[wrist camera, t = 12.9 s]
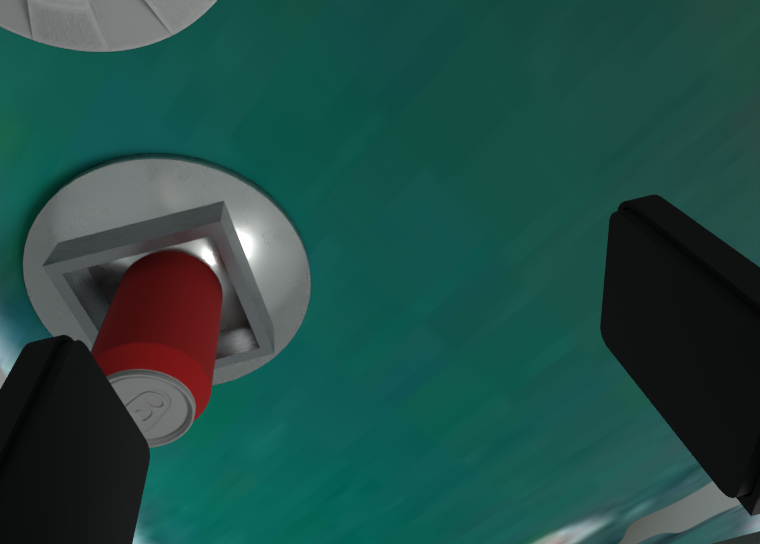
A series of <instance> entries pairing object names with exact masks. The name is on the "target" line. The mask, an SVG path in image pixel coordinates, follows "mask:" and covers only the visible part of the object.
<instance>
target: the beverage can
mask: <svg viewBox="0 0 760 544" xmlns="http://www.w3.org/2000/svg"><path fill="white" fill-rule="evenodd" d="M222 299H223V292H222V286H221V283H220V281H219V279H218V277H217V275H216V274H215V273H214V271H213V270H212V269H211V268H210V267H209V266H208V265H206V264H205V263H204V262H202V261H201V260H199V259H197V258H195V257H193V256H190V255H187V254H184V253H179V252H157V253H152V254H149V255H146V256H144V257H142V258H140V259H138V260H137V261H135V262H134V263H133V264H132V265H131V266H130V267H129V268H128V269H127V270H126V272H125V273H124V275H123V277H122V280H121V282H120V284H119V286H118V288H117V291H116V293H115V295H114V298H113V300H112V302H111V304H110V307H109V309H108V311H107V314H106V316H105V318H104V321H103V323H102V325H101V328H100V330H99V333H98V335H97V337H96V340H95V342H94V345H93V347H92V350H91V354H92V355H93V357H94V358H95V360H96V362H97V363H98V365H99V366H100V368H101V369H102V371H103V373H104V374H105V376H106V377H107V379H108V380H109V382H110V384H111V385H112V387H113V388H114V390H115V391H116V393H117V395H118V396H119V398H120V399H121V401H122V402H123V404H124V406H125V407H126V409H127V410H128V412H129V413H130V415H131V417H132V418H133V420H134V421H135V423H136V425H137V426H138V428H139V429H140V431H141V432H142V434H143V436H144V437H145V439H146V441H147V443H148V446H149V448H150V447H157V446H161V445H165V444H168V443H170V442H173V441H175V440H176V439H178V438H180V437H181V436H182V435H183V434H185V433H186V432H187V431H188V429H189V428H190V426H191V425H192V423H193V422H194V421H195V420H196V419H197V418H198V417H199V416H200V415H201V413H202V412H203V411H204V409H205V408H206V406H207V404H208V402H209V399H210V395H211V388H212V381H213V374H214V367H215V359H216V352H217V344H218V335H219V327H220V318H221V309H222Z"/></svg>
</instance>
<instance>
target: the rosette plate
mask: <svg viewBox="0 0 760 544" xmlns="http://www.w3.org/2000/svg"><path fill="white" fill-rule="evenodd" d="M157 252H179V253H184V254H187V255H190V256H193V257H195V258H197V259H199V260H201V261H202V262H204V263H205V264H206V265H208V266H209V267H210V268H211V269H212V270H213V271H214V273H215V274H216V275H217V277H218V279H219V281H220V283H221V286H222V292H223V299H222V309H221V318H220V327H219V335H218V344H217V352H216V359H215V367H214V374H213V381H212V385H216V384H221V383H225V382H228V381H231V380H234V379H237V378H239V377H242V376H244V375H246V374H249V373H251V372H253V371H254V370H256V369H258V368H260V367H261V366H263V365H265V364H266V363H267V362H269V361H270V360H271V359H273V358H274V357H275V356H276V355H277V354H278V353H279V352H281V351H282V350H283V349H284V348H285V347H286V346H287V344H288V343H289V342H290V341H291V339H292V338H293V337H294V335H295V334H296V332H297V330H298V329H299V327H300V325H301V323H302V321H303V318H304V316H305V313H306V311H307V307H308V302H309V298H310V286H311V282H310V270H309V261H308V257H307V253H306V248H305V245H304V243H303V240H302V238H301V235H300V233H299V231H298V229H297V228H296V226H295V224H294V223H293V221H292V219H291V218H290V216H289V215H288V214H287V213H286V211H285V210H284V209H283V208H282V206H281V205H280V204H279V203H278V202H277V201H276V200H275V199H274V198H273V197H272V196H271V195H270V194H269V193H267V192H266V191H265V190H264V189H262V188H261V187H260V186H258V185H257V184H256V183H254V182H253V181H251V180H249V179H248V178H246V177H244V176H243V175H241V174H239V173H237V172H235V171H233V170H231V169H228V168H226V167H224V166H222V165H219V164H216V163H213V162H210V161H206V160H203V159H200V158H195V157H189V156H184V155H177V154H162V153H155V154H137V155H132V156H126V157H121V158H116V159H113V160H110V161H107V162H104V163H101V164H98V165H96V166H94V167H92V168H90V169H88V170H86V171H84V172H82V173H80V174H79V175H77V176H76V177H74V178H73V179H71V180H70V181H68V182H67V183H66V184H65V185H64V186H63V187H62V188H60V189H59V190H58V191H57V192H56V193H55V194H54V195H53V196H52V198H51V199H50V200H49V201H48V203H47V204H46V205H45V206H44V208H43V209H42V210H41V212H40V213H39V214H38V216H37V217H36V219H35V221H34V223H33V225H32V227H31V229H30V231H29V234H28V237H27V241H26V244H25V248H24V257H23V271H24V281H25V285H26V289H27V293H28V296H29V298H30V301H31V303H32V306H33V308H34V310H35V312H36V313H37V315H38V317H39V318H40V320H41V322H42V323H43V324H44V326H45V327H46V328H47V329H48V331H49V332H50V333H51V334H52V336H53V337H55V336H60V335H68V336H69V337H71V338H72V339H73V340H74V341H76V340H81V341H82V342H84V343H85V345H86V346H87V347H88V349H89V351H90V352H91V350H92V347H93V345H94V342H95V340H96V337H97V335H98V333H99V330H100V328H101V325H102V323H103V321H104V318H105V316H106V314H107V311H108V309H109V307H110V304H111V302H112V300H113V298H114V295H115V293H116V291H117V288H118V286H119V284H120V282H121V280H122V277H123V275H124V273H125V272H126V270H127V269H128V268H129V267H130V266H131V265H132V264H133V263H134V262H135V261H137V260H138V259H140V258H142V257H144V256H146V255H149V254H152V253H157Z"/></svg>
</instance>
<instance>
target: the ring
mask: <svg viewBox="0 0 760 544" xmlns="http://www.w3.org/2000/svg"><path fill="white" fill-rule="evenodd" d="M216 1H217V0H0V26H1V27H3V28H5V29H7V30H9V31H11V32H14V33H16V34H19V35H21V36H24V37H26V38H29V39H32V40H34V41H37V42H41V43H44V44H47V45H51V46H56V47H60V48H65V49H72V50H79V51H92V52H109V51H121V50H128V49H134V48H138V47H142V46H146V45H150V44H153V43H156V42H158V41H161V40H163V39H166V38H168V37H170V36H172V35H174V34H176V33H178V32H180V31H181V30H183V29H185V28H186V27H188V26H189V25H190V24H192V23H193V22H195V21H196V20H197V19H198V18H200V17H201V16H202V15H203V14H204V13H205V12H206V11H207V10H208V9H209V8H210V7H211V6H212V5H213V4H214V3H215V2H216Z"/></svg>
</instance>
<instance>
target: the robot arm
mask: <svg viewBox="0 0 760 544" xmlns="http://www.w3.org/2000/svg"><path fill="white" fill-rule="evenodd" d="M600 329H601V335H602V338H603V340H604V342H605V344H606V346H607V347H608V348H609V350H610V351H611V352H612V353H613V355H614V356H615V357H616V359H617V360H618V361H619V362H620V364H621V365H622V366H623V367H624V369H625V370H626V371H627V373H628V374H629V375H630V376H631V378H632V379H633V380H634V381H635V383H636V384H637V385H638V386H639V388H640V389H641V390H642V392H643V393H644V394H645V395H646V397H647V398H648V399H649V400H650V402H651V403H652V404H653V405H654V407H655V408H656V409H657V411H658V412H659V413H660V414H661V416H662V417H663V418H664V419H665V421H666V422H667V423H668V424H669V426H670V427H671V428H672V430H673V431H674V432H675V433H676V435H677V436H678V437H679V438H680V440H681V441H682V442H683V443H684V445H685V446H686V447H687V449H688V450H689V451H690V452H691V454H692V455H693V456H694V457H695V459H696V460H697V461H698V462H699V464H700V465H701V466H702V468H703V469H704V470H705V471H706V473H707V474H708V475H709V476H710V478H711V479H712V480H713V481H714V483H715V484H716V485H717V487H718V488H719V489H720V490H721V491H722V492H723V493H724V494H725V495H726V496H728V497H731V498H734V497H736V498H737V499H738V500H739V501H740V503H741V504H742V505H743V507H744V508H745V509H746V510H747V511H748V513H749V514H750V515H751V516H753V515H757V514H760V267H758V266H757V265H756V264H754V263H753V262H751V261H750V260H749V259H747V258H746V257H744V256H743V255H742V254H740V253H739V252H737V251H736V250H735V249H733V248H732V247H730V246H729V245H728V244H726V243H725V242H723V241H722V240H721V239H719V238H718V237H717V236H715V235H714V234H712V233H711V232H710V231H708V230H707V229H705V228H704V227H703V226H701V225H700V224H698V223H697V222H696V221H694V220H693V219H691V218H690V217H689V216H687V215H686V214H684V213H683V212H682V211H680V210H679V209H677V208H676V207H675V206H673V205H672V204H670V203H669V202H668V201H666V200H665V199H663V198H662V197H660V196H658V195H650V196H645V197H641V198H637V199H633V200H629V201H624V202H622V203H621V204H620V206H619V207H618V211H617V212H614V213H613V214H612V215H611V217H610V221H609V232H608V244H607V255H606V267H605V279H604V290H603V302H602V313H601V325H600ZM149 460H150V451H149V446H148V443H147V441H146V439H145V437H144V436H143V434H142V432H141V431H140V429H139V428H138V426H137V425H136V423H135V421H134V420H133V418H132V417H131V415H130V413H129V412H128V410H127V409H126V407H125V406H124V404H123V402H122V401H121V399H120V398H119V396H118V395H117V393H116V391H115V390H114V388H113V387H112V385H111V384H110V382H109V380H108V379H107V377H106V376H105V374H104V373H103V371H102V369H101V368H100V366H99V365H98V363H97V362H96V360H95V358H94V357H93V355H92V354H91V352H90V351H89V349H88V347H87V346H86V345H85V343H84V342H82V341H81V340H76V341H74V340H73V339H72V338H71V337H69V336H68V335H60V336H55V337H51V338H47V339H43V340H39V341H34V342H31V343H28V344H26V346H25V347H24V348H23V349H22V351H21V353H20V355H19V357H18V358H17V360H16V362H15V364H14V366H13V368H12V369H11V371H10V373H9V375H8V377H7V378H6V380H5V382H4V384H3V386H2V387H1V389H0V544H132V542H133V537H134V532H135V528H136V523H137V518H138V513H139V509H140V504H141V499H142V494H143V490H144V485H145V480H146V475H147V471H148V466H149ZM713 544H760V531H759V532H755V533H751V534H747V535H743V536H739V537H735V538H732V539H728V540H724V541H721V542H717V543H713Z"/></svg>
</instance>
